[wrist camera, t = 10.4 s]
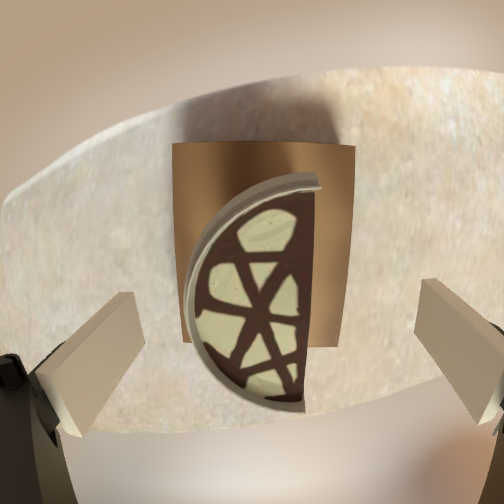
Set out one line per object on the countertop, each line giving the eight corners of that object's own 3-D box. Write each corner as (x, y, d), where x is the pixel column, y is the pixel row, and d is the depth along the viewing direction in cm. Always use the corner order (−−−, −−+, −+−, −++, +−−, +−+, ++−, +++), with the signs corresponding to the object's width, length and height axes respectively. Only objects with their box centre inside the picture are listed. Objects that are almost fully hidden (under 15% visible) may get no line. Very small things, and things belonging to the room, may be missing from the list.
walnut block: (339, 149, 25) (355, 146, 20) (328, 319, 29) (337, 346, 24) (189, 147, 25) (172, 143, 21) (195, 315, 30) (183, 342, 25)
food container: (210, 170, 21) (161, 175, 11) (298, 169, 21) (322, 172, 11) (217, 328, 24) (190, 415, 15) (294, 329, 24) (304, 420, 14)
